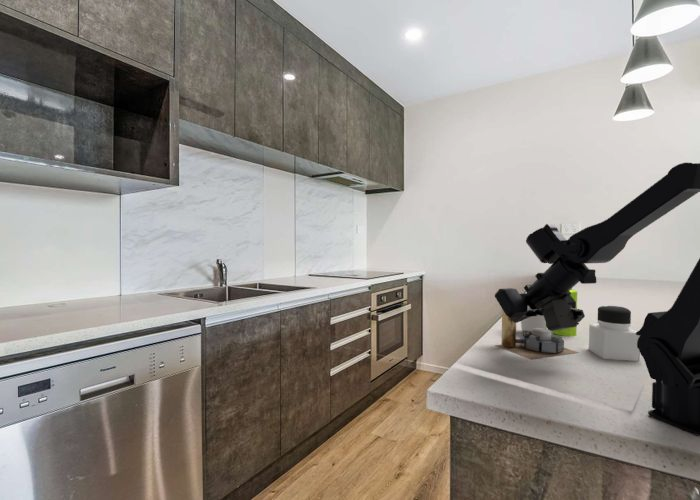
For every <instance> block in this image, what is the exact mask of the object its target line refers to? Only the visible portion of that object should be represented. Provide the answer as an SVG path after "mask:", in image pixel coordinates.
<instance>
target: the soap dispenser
mask: <svg viewBox="0 0 700 500" xmlns="http://www.w3.org/2000/svg"><path fill="white" fill-rule="evenodd" d="M569 291H570V293H571V294H570V295H571V297H572V298H573V299H574V300H575V302H576V309H578V291H577V290H575V289H573V288H571V289H570V290H569ZM577 326H578V325H577ZM577 326H576V327H572V328H567V329H563V330H555V331H552V332H553V335H556V336H561V337H563V336H564V337H575V336H577Z"/></svg>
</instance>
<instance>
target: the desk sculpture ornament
mask: <svg viewBox="0 0 700 500" xmlns="http://www.w3.org/2000/svg"><path fill="white" fill-rule="evenodd" d="M539 339H540V336H537V335H532V331H530V330H523V333H521V334H520V335H519V338H517V323H514V322H513V320H512V318H510V317H508V316H506V314H505V312H504V311H503V309H502V308H501V345H502V346H505V347H516V343H520V345H522V346H523V347H524V348H526V349H530V350H534V351H538V352H540V351H541V352H547V353H556V352H557V353H559V352H561V351H564V348H565V340H564V339H563V336H559V335H554V333H553V332H552V331H551V341H543V340H539Z"/></svg>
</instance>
